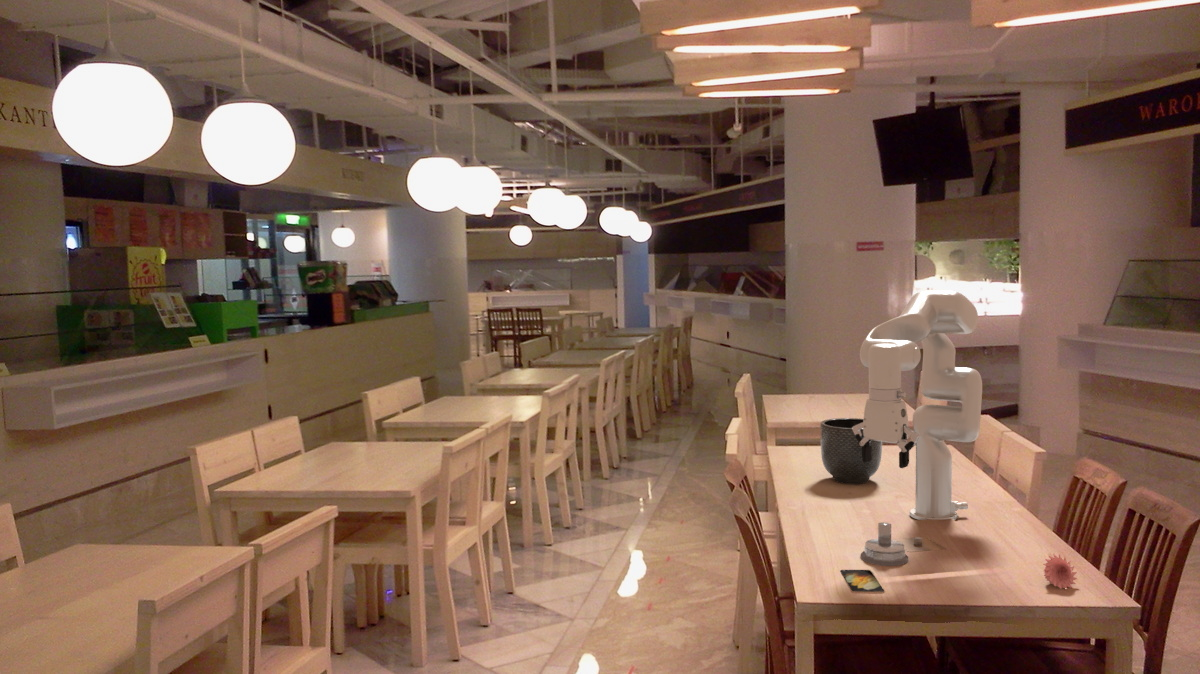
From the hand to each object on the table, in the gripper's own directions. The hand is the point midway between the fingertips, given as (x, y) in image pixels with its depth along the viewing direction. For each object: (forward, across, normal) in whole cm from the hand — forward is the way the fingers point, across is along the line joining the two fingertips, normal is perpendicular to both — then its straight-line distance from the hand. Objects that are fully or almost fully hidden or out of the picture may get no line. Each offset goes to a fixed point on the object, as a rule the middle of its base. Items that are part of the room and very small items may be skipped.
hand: (885, 464), depth 229 cm
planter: (+25, +46, -62) cm, 81 cm away
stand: (+23, -4, -10) cm, 25 cm away
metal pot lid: (+23, -2, +5) cm, 23 cm away
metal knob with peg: (+21, -2, +5) cm, 22 cm away
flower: (+23, -39, -6) cm, 45 cm away
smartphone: (+23, -5, +21) cm, 31 cm away
